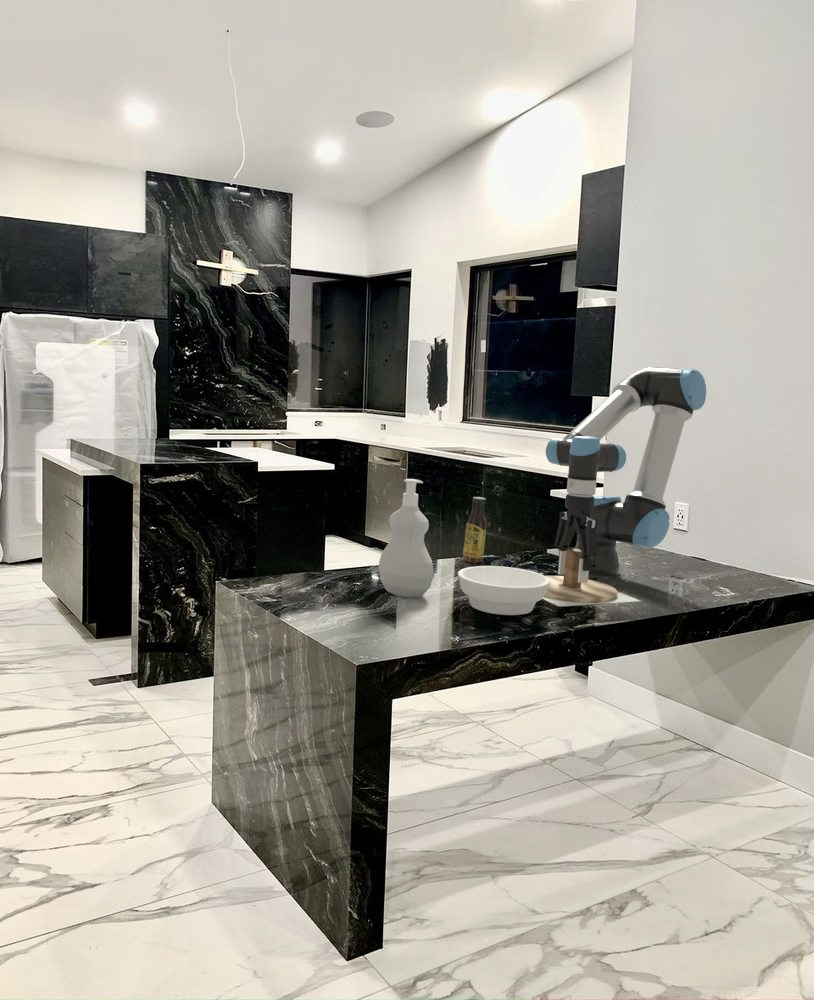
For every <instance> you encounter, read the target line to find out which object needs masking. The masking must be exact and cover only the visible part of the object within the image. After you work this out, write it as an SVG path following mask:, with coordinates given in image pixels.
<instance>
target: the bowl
mask: <svg viewBox="0 0 814 1000" xmlns="http://www.w3.org/2000/svg"><path fill="white" fill-rule="evenodd" d="M457 576H458V580H459V585H460V589H461V591H462V593H464V594H465V595H466V596H467V597H468V598H467V599H468V601H469V604H470V606H471V607H472V608H473V609H476V610H478V611H481V612H485V613H488V614H494V615H502V616H519V615H525V614H526V615H527V614H530V613H531V612H532V611H533V610H534V607H535V605H536V604H537V602H539V601H541V600H543V599H542V598H543V597H544V595H545V592H546V590H547V588H548V586H549V584H550V580H549V579H548V578H547V577H546V576H547V575H544V574H541V573H539V572H536V571H533V570H528V569H524V568H517V567H509V566H502V565H501V566H499V565H497V566H496V565H478V566H468V567H464V568H462V569H459V571H458V572H457Z"/></svg>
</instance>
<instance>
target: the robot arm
mask: <svg viewBox="0 0 814 1000" xmlns="http://www.w3.org/2000/svg"><path fill="white" fill-rule="evenodd" d="M706 399H707V385H706V379H705V377H704V375H703V374H702V373H701V372H700V371H699V370H697V369H694V368H687V367H679V368H678V367H658V366H650V367H646V368H643V369H640V370H637V371H636V372H634V373H632V374H630V375H628V376H627V377H626V378H625V377H624V379H622V380H621V381H620V382H618V384H616V385H615V386H614V387H613V389H612V391H611V394H610V395H609V396H608V398H606V399H605V400H604V401H603V402H601V404H599V405H598V406H597V407H596V408H595V409H594V410H593V411H592V412H591V413H589V415H588V416H586V417H585V418H584V419H583V420H582V421H580V422H579V424H577V425H576V426H575V428H573V429H572V430H571V431H570V432H569V433H568V434H566V435H565V436H564V437H563V438H561V437H558V438H557V437H554V438H551V439H550V440H549V441H548V442H547V443H546V444H547V445H546V447H545V456H546V459H547V461H548V462H549V463H551V464H554V465H558V466H561V467H562V466H563V467H568V471H567V472H568V474H567V482H566V484H567V485H566V493H567V494H566V495H565V505H564V507H565V509H567V511H560V513H559V520H558V521H559V523H558V527H557V532H556V536H555V540H554V546H555V547H557V548H558V551H559V552H558V553H559V554H558V568H557V569H558V570H557V575H558V576H564V568H565V558H566V549H571V548H570V545H571V543H572V541H573V538H574V535H575V533H576V534H577V537H576V545H575V547H574V549H579V550H581V553H582V557H580V562H579V573H578V582H579V583H585V582H588V579H589V575H595V576H615V575H620V567H621V566H620V562H619V558H618V557H619V556H618V552H617V543H623V544H627V545H628V544H629V545H631V546H633V545H634V546H636V547H639V548H649V549H651V548H654V547H657V546H658V545H659V544H661V543H662V542H663V540H664V539H665V538H666V536H667V533H668V532H669V527H670V519H671V518H670V514H669V512H668V511H667V510H666V507H667V504H666V503H665V501H664V495H665V492H666V487H667V485H668V480H669V478H670V475H671V471H672V468H673V463H674V461H675V456H676V455H677V454H676V453H677V449H678V445H679V443H680V439H681V437H682V433H683V428H684V426H685V423H686V421H689V420H690V419H692V417H693V414H694V411H697V410H700V409H702V408H703V406H704V404H705V403H706ZM650 406H651V409H652V411H653V413H654V418H653V420H652V421H653V422H652V424H651V428H650V433H649V435H648V438H647V442H646V445H645V449H644V453H643V456H642V459H641V462H640V465H639V466H640V467H639V468H638V469H639V470H638V472H637V477H636V479H635V483H634V487H633V489H632V491H631V492H629V493H627V494H626V495H625V499H624V502H622V498H621V496H619V495H596V491H597V476H598V473H600V472H601V473H602V472H603V473H605V472H607V473H613V472H616V471H619V470H621V469H622V468H623V467H624V466H625V464H626V462H627V453H626V451H625V449H624V447H622V446H621V445H620V444H617V443H601V441H602V439H603V438H604V437H606V435H607V434H609V432H611V430H613V428H615V426H617V425H618V424H619V423H620V422H621V421H622V420H623V419H624V418H625V417H626V416H628V414H630V413H634V412H636V411H638V410H639V409H640V408H641V407H650Z"/></svg>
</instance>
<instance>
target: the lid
mask: <svg viewBox="0 0 814 1000" xmlns="http://www.w3.org/2000/svg"><path fill="white" fill-rule="evenodd" d="M580 557H582V553H581V550H579V549H575V548H570V549H566V558H565V568H564V575H545V576H546V577H547V578H548V579H549V580H550V584H549V586H548V588H547V590H546V592H545V595H544V597H547V598H552V599H557V600H562V601H570V602H581V603H600V602H608V601H612V600H614V599H616V598H617V592H618V590H617V588H615V587H613V586H612V585H610V584H607V583H605V582H602V581H599V580H593V579H589V578H588V582H585V583H579V582H578V573H579V562H580Z"/></svg>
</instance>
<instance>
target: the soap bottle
mask: <svg viewBox="0 0 814 1000" xmlns="http://www.w3.org/2000/svg"><path fill="white" fill-rule="evenodd" d="M403 481H404V483H406V489H405V490H406V491H405V492H403V493H402V504H401V507H400V508H399V509H397V510H396V511H394V512H392V514H391V515H390V516H389V519H388V523H389V526H390V529H391V538H390V540H389V542H388V544H387V545H386V546H385V548H384V549H383V551H381V554H380V557H379V558H380V559H379V562H378V573H379V577H380V578H379V579H380V582H381V583H382V585H383V587H384V589H385V590H386V591H387V592H388V593H390V594H392V595H394V596H397V597H401V598H417V597H418V598H419V597H423V596H424V595H425V594H426V593H427V592H428V590H429V589H431V586H432V582H433V579H434V575H435V574H434V573H435V572H434V566H433V565H434V564H433V560H432V558H431V556H430V554H429V552H428V549H427V547H426V544H425V535H426V534H427V532H428V531H429V527H430V525H429V524H430V523H429V519H428V518H427V517H426V516H425V514H423V513H422V511H421V510H420V508H419V494H418V493H416V492H417V491H416V490H417V489H416V487H417V484H424V481H422V480H420V479H415V478H405V479H404V480H403Z"/></svg>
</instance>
